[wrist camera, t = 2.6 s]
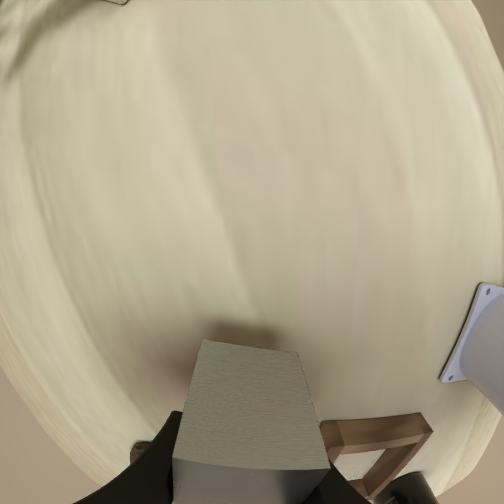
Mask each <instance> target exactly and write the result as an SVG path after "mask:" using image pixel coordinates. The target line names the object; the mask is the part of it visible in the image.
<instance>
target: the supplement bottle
mask: <svg viewBox="0 0 504 504" xmlns="http://www.w3.org/2000/svg"><path fill="white" fill-rule="evenodd" d="M373 503H374V504H439V503H438V501H437V499H436V498H435V496H434V494H433V492H432V490H431V488H430V487H429V485H428V483H427V481H426V479H425V478H424V476H423V475H422V474H421V473H411V474H408V475H405V476H403V477H400V478H398V479H396V480H394V481H393V482H391V483H389V484H388V485H387V486H386V487H385V488H384V489H383V490H382V491H381V492H380V493H378V494H377V495H376V496H375V497H374V498H373Z"/></svg>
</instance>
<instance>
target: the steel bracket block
mask: <svg viewBox="0 0 504 504" xmlns="http://www.w3.org/2000/svg"><path fill="white" fill-rule="evenodd" d="M172 467H173V491H174V504H302V503H303V502H304V501H305V500H306V499H307V497H308V496H309V495H310V494H311V493H312V491H313V490H314V489H315V488H316V487H317V485H318V484H319V483H320V482H321V480H322V479H323V478H324V476H325V475H326V474H327V473H328V471H329V470H330V469H331V467H330V464H329V460H328V456H327V453H326V449H325V446H324V442H323V439H322V435H321V432H320V428H319V425H318V421H317V418H316V414H315V411H314V407H313V404H312V400H311V397H310V393H309V390H308V386H307V383H306V380H305V376H304V373H303V369H302V366H301V363H300V359H299V356H298V353H297V352H288V351H279V350H271V349H263V348H256V347H249V346H242V345H235V344H229V343H223V342H217V341H211V340H206V339H202V342H201V346H200V349H199V353H198V357H197V361H196V364H195V368H194V372H193V376H192V380H191V383H190V387H189V391H188V395H187V399H186V403H185V407H184V411H183V415H182V419H181V423H180V427H179V431H178V435H177V439H176V443H175V448H174V452H173V456H172Z"/></svg>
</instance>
